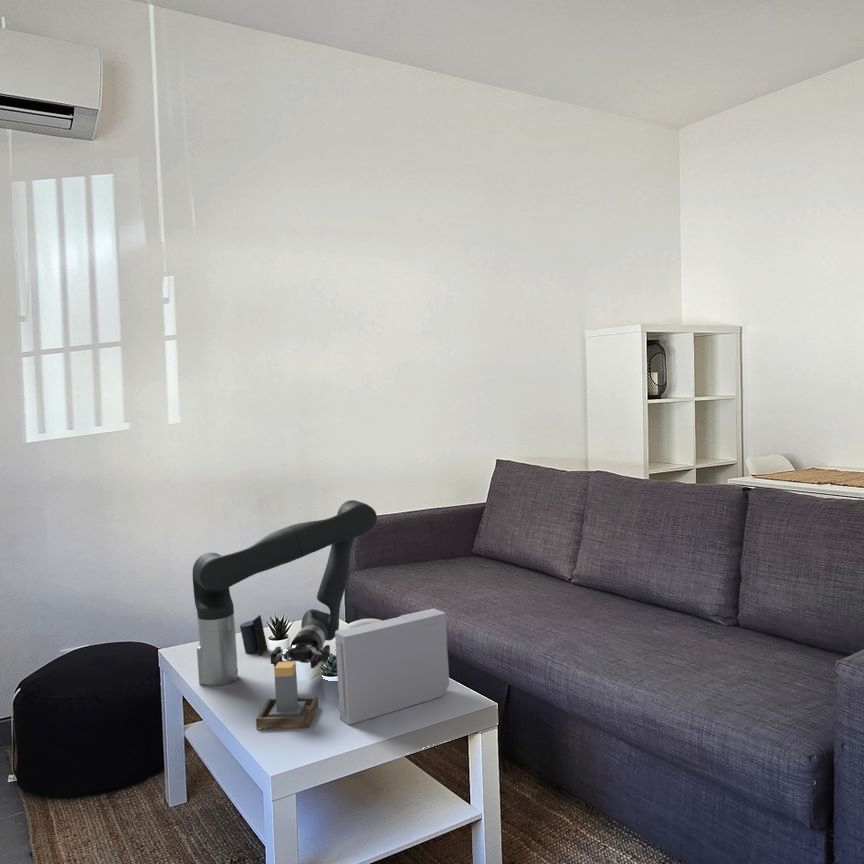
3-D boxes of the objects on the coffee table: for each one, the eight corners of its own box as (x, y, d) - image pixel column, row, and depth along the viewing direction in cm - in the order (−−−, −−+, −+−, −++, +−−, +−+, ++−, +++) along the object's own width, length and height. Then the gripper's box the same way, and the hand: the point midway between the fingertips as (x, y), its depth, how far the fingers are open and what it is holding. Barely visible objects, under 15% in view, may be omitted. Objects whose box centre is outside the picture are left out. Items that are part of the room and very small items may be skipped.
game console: (336, 717, 179) (331, 631, 178) (436, 687, 194) (432, 608, 193) (348, 725, 175) (343, 637, 174) (449, 694, 189) (445, 612, 188)
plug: (269, 721, 177) (265, 670, 177) (276, 708, 184) (273, 660, 184) (300, 720, 177) (296, 669, 176) (306, 707, 184) (303, 658, 183)
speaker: (274, 648, 230) (267, 614, 230) (260, 656, 225) (254, 620, 225) (254, 648, 234) (248, 614, 234) (241, 655, 229) (234, 620, 229)
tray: (256, 729, 175) (255, 719, 175) (269, 708, 187) (268, 698, 186) (308, 727, 174) (307, 717, 174) (318, 706, 186) (317, 697, 186)
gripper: (280, 629, 206) (264, 650, 190) (334, 628, 205) (323, 648, 189) (282, 658, 206) (266, 681, 190) (336, 656, 206) (324, 679, 189)
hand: (294, 664), depth 190 cm, fingers open, 8 cm apart
